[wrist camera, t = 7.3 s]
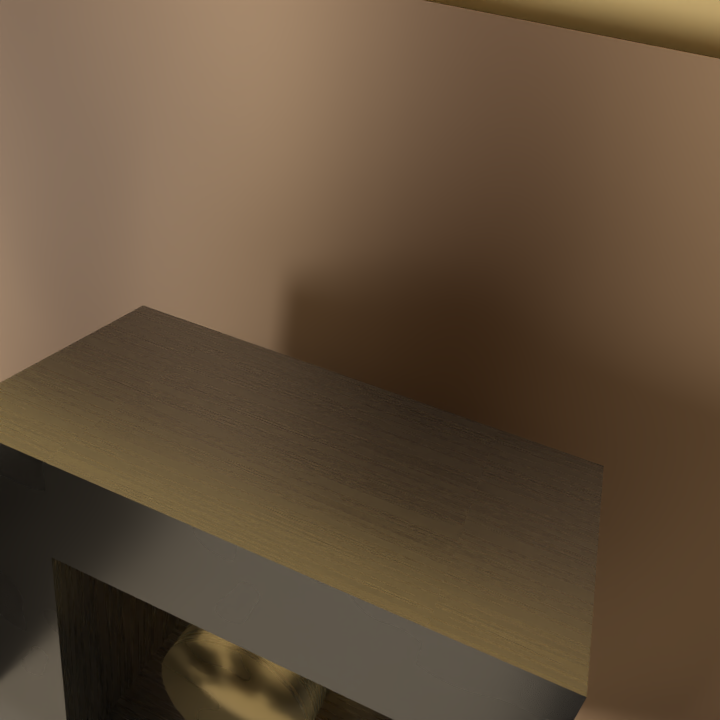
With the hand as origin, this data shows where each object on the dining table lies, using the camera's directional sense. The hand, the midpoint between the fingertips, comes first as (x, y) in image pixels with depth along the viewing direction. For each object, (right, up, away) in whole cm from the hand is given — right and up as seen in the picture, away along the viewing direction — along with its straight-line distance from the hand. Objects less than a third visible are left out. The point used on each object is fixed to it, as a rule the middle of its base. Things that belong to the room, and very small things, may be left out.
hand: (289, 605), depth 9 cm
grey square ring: (0, 0, +1) cm, 1 cm away
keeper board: (+1, +2, +3) cm, 4 cm away
